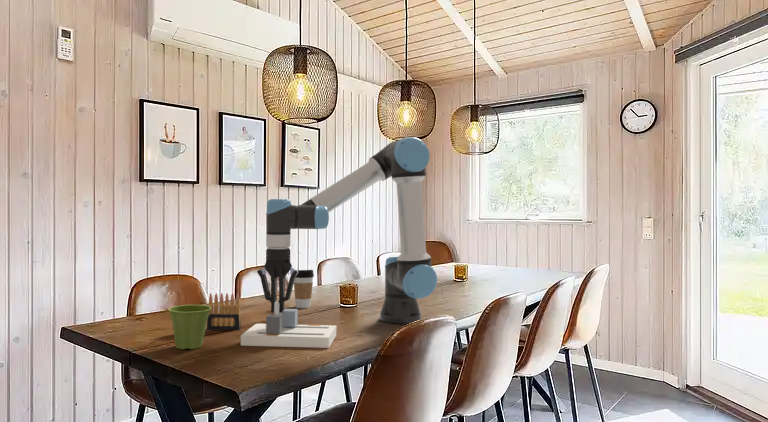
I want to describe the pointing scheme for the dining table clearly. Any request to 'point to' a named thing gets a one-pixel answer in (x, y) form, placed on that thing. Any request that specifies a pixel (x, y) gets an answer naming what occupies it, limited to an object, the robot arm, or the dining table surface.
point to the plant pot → (189, 325)
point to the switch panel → (290, 336)
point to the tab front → (274, 323)
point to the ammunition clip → (224, 313)
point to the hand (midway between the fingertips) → (277, 322)
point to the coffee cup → (303, 288)
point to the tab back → (290, 317)
